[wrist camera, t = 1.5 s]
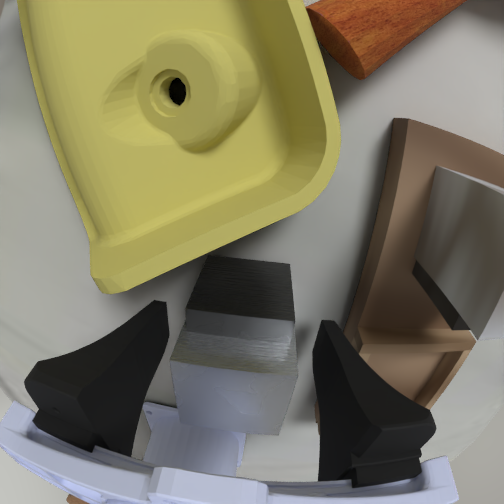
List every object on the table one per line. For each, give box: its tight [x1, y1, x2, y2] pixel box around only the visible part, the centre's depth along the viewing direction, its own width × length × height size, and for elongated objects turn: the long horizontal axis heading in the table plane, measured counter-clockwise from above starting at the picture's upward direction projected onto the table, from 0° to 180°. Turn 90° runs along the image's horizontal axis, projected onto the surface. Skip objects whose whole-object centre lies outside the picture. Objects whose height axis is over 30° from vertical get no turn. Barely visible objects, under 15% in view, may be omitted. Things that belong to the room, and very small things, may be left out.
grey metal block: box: [170, 255, 298, 435], centre depth 12 cm, size 5×4×6 cm
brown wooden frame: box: [315, 118, 504, 435], centre depth 11 cm, size 18×7×7 cm, turn 175°
